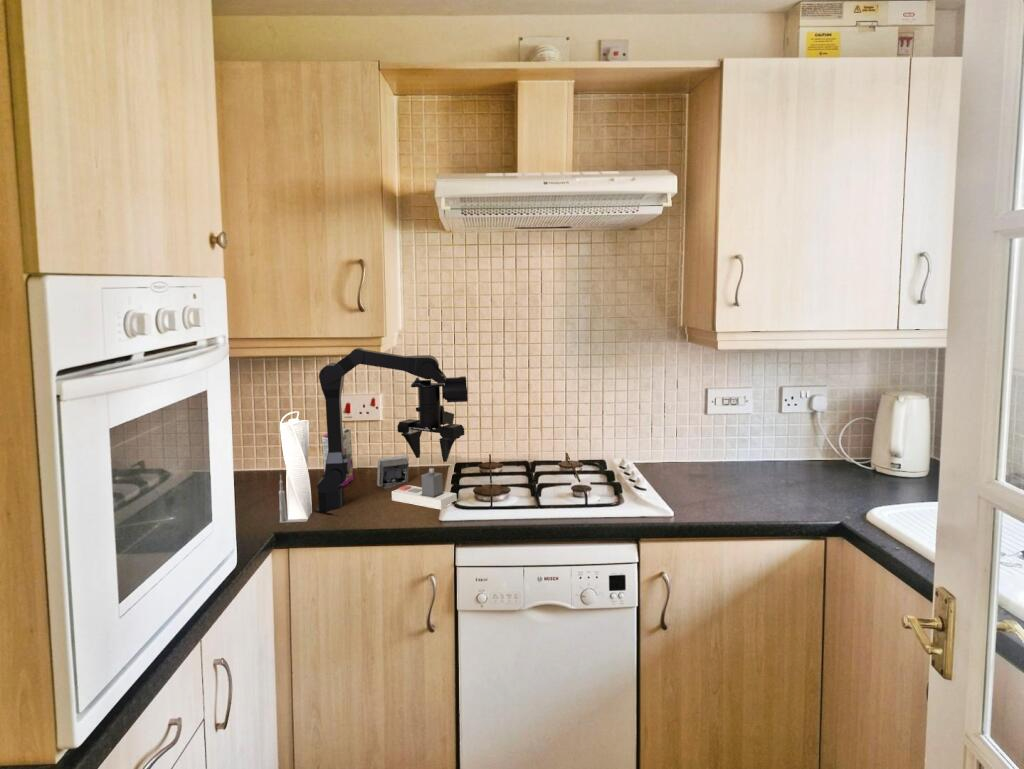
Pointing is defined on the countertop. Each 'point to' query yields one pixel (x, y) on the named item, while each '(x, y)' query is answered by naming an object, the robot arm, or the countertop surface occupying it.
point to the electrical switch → (392, 471)
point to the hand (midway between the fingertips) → (431, 459)
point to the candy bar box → (346, 447)
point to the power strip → (422, 497)
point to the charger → (432, 484)
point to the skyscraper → (295, 471)
